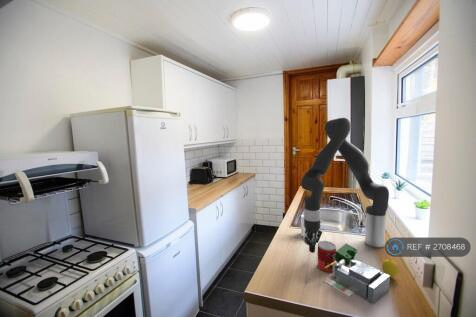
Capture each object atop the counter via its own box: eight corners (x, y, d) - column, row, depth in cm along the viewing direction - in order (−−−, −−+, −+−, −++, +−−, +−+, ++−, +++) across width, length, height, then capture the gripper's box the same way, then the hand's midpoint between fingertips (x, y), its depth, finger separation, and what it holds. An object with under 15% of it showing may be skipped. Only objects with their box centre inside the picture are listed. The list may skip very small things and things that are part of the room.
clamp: (345, 273, 108) (346, 261, 103) (333, 265, 112) (334, 253, 108) (357, 255, 114) (359, 244, 109) (345, 249, 118) (346, 237, 114)
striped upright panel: (328, 278, 98) (328, 277, 98) (353, 293, 89) (353, 292, 89) (324, 281, 96) (324, 280, 96) (349, 296, 87) (349, 295, 87)
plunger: (342, 269, 103) (342, 255, 102) (361, 279, 96) (361, 264, 96) (323, 281, 96) (323, 265, 95) (342, 292, 89) (343, 276, 88)
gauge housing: (352, 272, 102) (353, 256, 101) (389, 290, 90) (389, 272, 89) (336, 283, 95) (336, 265, 94) (373, 304, 83) (373, 284, 82)
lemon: (397, 282, 94) (398, 264, 93) (381, 278, 97) (382, 260, 96) (397, 275, 98) (398, 257, 97) (381, 271, 101) (382, 254, 100)
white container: (317, 233, 140) (318, 214, 139) (315, 240, 132) (315, 220, 131) (302, 231, 144) (302, 212, 143) (299, 237, 136) (299, 217, 135)
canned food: (327, 274, 100) (327, 250, 99) (313, 265, 107) (313, 243, 106) (339, 269, 104) (340, 246, 103) (325, 261, 111) (325, 239, 110)
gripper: (314, 212, 117) (314, 245, 119) (296, 218, 110) (296, 253, 112) (327, 216, 111) (327, 251, 113) (309, 223, 103) (309, 259, 105)
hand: (312, 252), depth 112 cm, fingers closed
